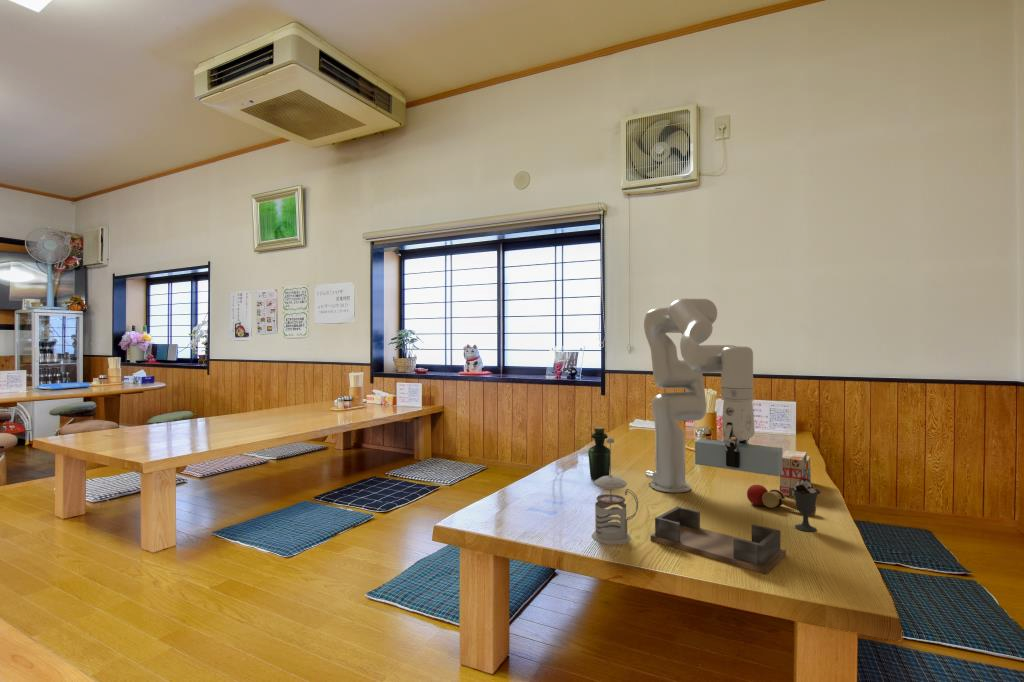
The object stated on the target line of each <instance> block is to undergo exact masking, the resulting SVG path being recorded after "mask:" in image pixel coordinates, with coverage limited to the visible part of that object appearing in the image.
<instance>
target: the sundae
mask: <svg viewBox="0 0 1024 682" xmlns="http://www.w3.org/2000/svg"><path fill="white" fill-rule="evenodd" d="M806 471H807V470H805V475H806V474H807V472H806ZM805 475H804V476H803V477H801V479H800V480H799V481H798V482H797V485H796V486H794V487H793V488H791V489H792V490H793V491H794V495H795V497H794V499H795V500H794V501H796V507H797V510H796V511H798V512H799V513H800V514H801V515H802V523H799V524H795V525H794V527H795V529H797V530H798V531H801V532H807V533H814V532H816V531H817V530H818V529H817V527H815V526H814V525H813V526H811V525H810V523H809V516H811V514H812V513H813V512H814V510H815V506H816V507H817V505H816V503H817V499H818V495H820V494H821V490H820V489H819V488H817V487H816V488H815V486H814V485H813V484H812V481H811V482H810V480H809V479H808V475H807V478H806V477H805Z"/></svg>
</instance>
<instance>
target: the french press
mask: <svg viewBox="0 0 1024 682" xmlns="http://www.w3.org/2000/svg"><path fill="white" fill-rule="evenodd" d="M606 443H607V444H609V449H610V472H609V476H603V477H601V478H599V479H597V480H594V485H595V486H597V487H598V488H601V489H606V490H607V489H608V490H609V493H607V494H606V493H605V494H604V493H603V494H600V495H597V497H596V502H595V505H594V506H595V507H594V508H595V510H594V511H595V522H594V523H595V529H594V532H592V533H591V538H592V540H593V541H596V542H597V543H600V544H605V545H610V546H611V545H615V546H617V545H625V544H627V543H629V542H630V541H631V539H632V538H631V535H629V534H628V521H629V520H632V519H633V518H635V516H636V514H637V512H638V509H639V499H638V497H637V495H636V493H634V492H633V490H631V489H630V488H627V489H625V491H624V495H625V496H627V495H628V494H630V495H631V496H632V497H633V498H634V499H633V500H634V501H635V507H636V508H635V512H634V513H633V514H632V515H630V516H628V517H627V503H625V502H626V498H625V497H623V496H622V495H618V494H612V490H618V489H623V488H625V487H627V486H628V482H627V481H626V480H624V479H622V478H620V477H619V476H615V475H612V458H611V457H612V444H615V440H614V438H612V437H608V438H606ZM615 505H616V506H615ZM617 505H618V506H617ZM611 506H613V507H611ZM619 506H620V507H621V508H620V507H619ZM609 507H610V508H609ZM615 515H617V516H615ZM614 520H615V521H614Z"/></svg>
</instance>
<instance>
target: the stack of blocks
mask: <svg viewBox="0 0 1024 682" xmlns="http://www.w3.org/2000/svg"><path fill="white" fill-rule="evenodd" d="M811 467H812V466H811V456H809V455H807V451H796V450H789V449H788V450H787V449H786V450H785V451H784V452H783V453H782V473H781V474H780V475H779V490H780V491H781V492H782V493H783V494H784V496H785V497H789V496H791V497H790V498H795V495H794V491H793V490H792V489H791V488H793V487H794V486H796V485H797V482H798V481H799V480H800V479H801V477H803V476H804V475H805V470H807V471H806V472H807V474H806V475H805V477H806V478H807V475H808V479H809V480H810V482H811V483H812V478H811V477H812V475H811V474H812V473H811Z"/></svg>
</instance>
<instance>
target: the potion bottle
mask: <svg viewBox="0 0 1024 682" xmlns="http://www.w3.org/2000/svg"><path fill="white" fill-rule="evenodd" d="M593 429H594V433H592V434H591V436H590V437H591V438H592V439H593V440H594V443H595V444H594V445H593V446H591V447H589V449H588V451H587V455H588V465H589V475H590V476H589V477H590V478H591V479H592V480H594V481H595V480H597V479H599V478H601V477H603V476H609V475H610V447H607V446H606V445H604V444H605V440H607V439H608V438H609V437H608V434H607V433H605V430H606V429H605V427H603V426H594V428H593Z"/></svg>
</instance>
